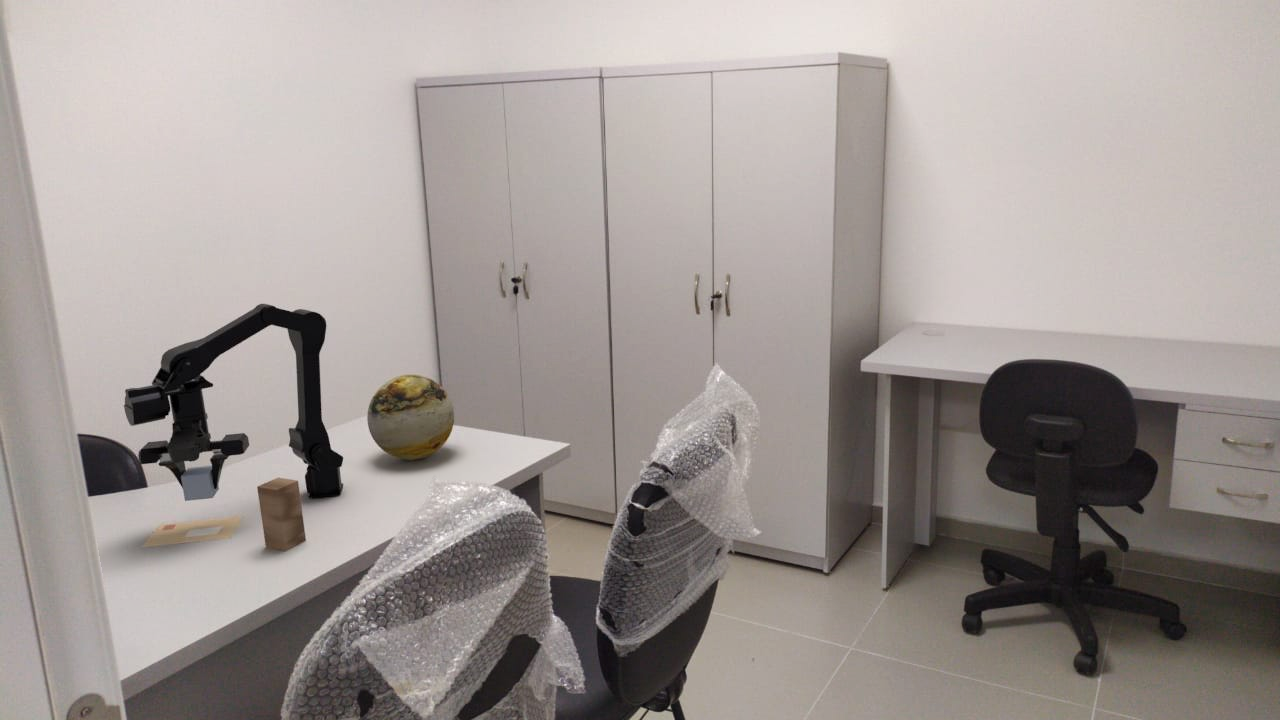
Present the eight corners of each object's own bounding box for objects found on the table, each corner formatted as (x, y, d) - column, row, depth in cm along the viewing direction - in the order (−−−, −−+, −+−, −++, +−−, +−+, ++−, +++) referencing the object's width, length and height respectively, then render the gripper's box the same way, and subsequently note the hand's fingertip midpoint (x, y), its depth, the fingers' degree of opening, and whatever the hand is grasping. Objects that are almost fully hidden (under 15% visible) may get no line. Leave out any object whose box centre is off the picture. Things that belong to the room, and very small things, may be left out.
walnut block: (286, 536, 176) (278, 477, 173) (305, 540, 174) (297, 480, 171) (265, 547, 171) (257, 486, 169) (285, 551, 169) (277, 489, 167)
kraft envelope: (243, 516, 187) (243, 515, 187) (230, 538, 176) (230, 537, 176) (158, 525, 184) (158, 524, 184) (140, 548, 173) (140, 547, 173)
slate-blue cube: (218, 489, 183) (215, 465, 182) (212, 498, 178) (208, 473, 177) (192, 491, 182) (188, 467, 181) (185, 500, 177) (180, 476, 176)
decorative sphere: (356, 470, 211) (346, 386, 207) (396, 442, 230) (388, 365, 226) (436, 473, 207) (427, 387, 202) (470, 445, 226) (463, 366, 221)
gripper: (122, 430, 167) (136, 510, 171) (230, 420, 171) (242, 499, 174) (141, 413, 178) (155, 489, 181) (244, 404, 181) (255, 479, 185)
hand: (201, 489), depth 180 cm, fingers closed on slate-blue cube, 5 cm apart
